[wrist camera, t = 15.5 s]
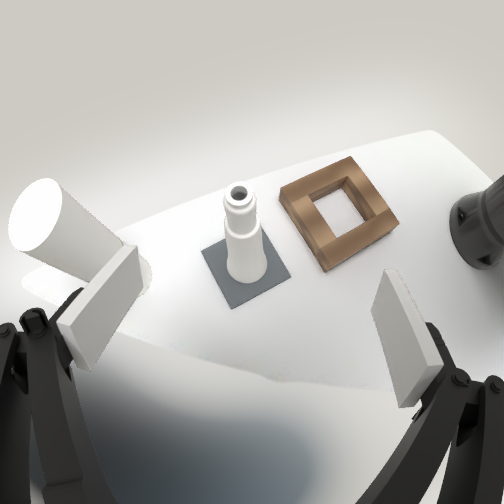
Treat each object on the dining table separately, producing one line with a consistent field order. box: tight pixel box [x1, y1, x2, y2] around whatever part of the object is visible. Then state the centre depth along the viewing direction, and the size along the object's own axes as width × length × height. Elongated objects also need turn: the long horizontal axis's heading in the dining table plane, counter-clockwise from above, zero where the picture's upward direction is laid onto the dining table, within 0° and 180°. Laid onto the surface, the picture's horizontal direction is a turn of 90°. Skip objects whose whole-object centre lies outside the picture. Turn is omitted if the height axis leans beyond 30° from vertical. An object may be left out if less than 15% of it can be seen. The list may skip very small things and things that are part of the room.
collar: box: [279, 156, 400, 272], centre depth 45 cm, size 14×14×4 cm
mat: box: [201, 227, 291, 309], centre depth 45 cm, size 10×10×1 cm
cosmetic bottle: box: [223, 182, 267, 283], centre depth 34 cm, size 6×6×22 cm
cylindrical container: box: [9, 179, 152, 297], centre depth 33 cm, size 7×7×25 cm
